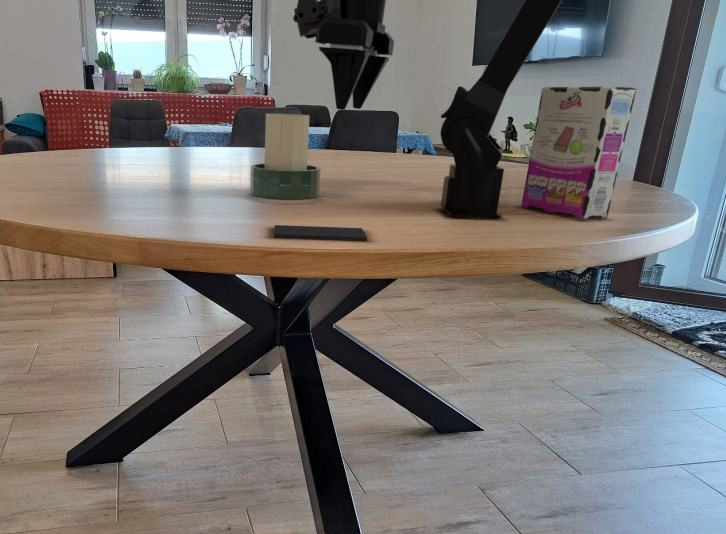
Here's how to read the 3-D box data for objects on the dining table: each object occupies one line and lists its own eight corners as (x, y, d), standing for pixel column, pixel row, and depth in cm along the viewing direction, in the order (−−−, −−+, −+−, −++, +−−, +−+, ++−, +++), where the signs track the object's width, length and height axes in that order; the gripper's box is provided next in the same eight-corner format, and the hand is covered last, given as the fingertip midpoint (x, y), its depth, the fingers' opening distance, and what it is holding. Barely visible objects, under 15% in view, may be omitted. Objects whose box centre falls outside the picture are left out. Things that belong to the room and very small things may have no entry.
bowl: (316, 194, 98) (318, 164, 97) (319, 205, 89) (321, 172, 87) (252, 192, 98) (252, 162, 97) (248, 202, 89) (249, 169, 88)
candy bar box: (609, 219, 85) (639, 87, 79) (583, 221, 83) (612, 86, 77) (544, 205, 95) (566, 86, 89) (518, 207, 93) (540, 85, 87)
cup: (304, 191, 96) (308, 114, 92) (305, 198, 91) (310, 116, 87) (264, 190, 96) (266, 113, 92) (263, 196, 91) (265, 114, 87)
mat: (361, 231, 73) (362, 228, 73) (366, 241, 68) (367, 237, 68) (274, 228, 73) (274, 224, 73) (273, 237, 68) (273, 234, 68)
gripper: (325, -14, 91) (312, 102, 97) (281, -39, 74) (269, 103, 80) (402, -11, 87) (384, 110, 93) (374, -36, 71) (355, 112, 77)
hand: (349, 108), depth 86 cm, fingers open, 9 cm apart
